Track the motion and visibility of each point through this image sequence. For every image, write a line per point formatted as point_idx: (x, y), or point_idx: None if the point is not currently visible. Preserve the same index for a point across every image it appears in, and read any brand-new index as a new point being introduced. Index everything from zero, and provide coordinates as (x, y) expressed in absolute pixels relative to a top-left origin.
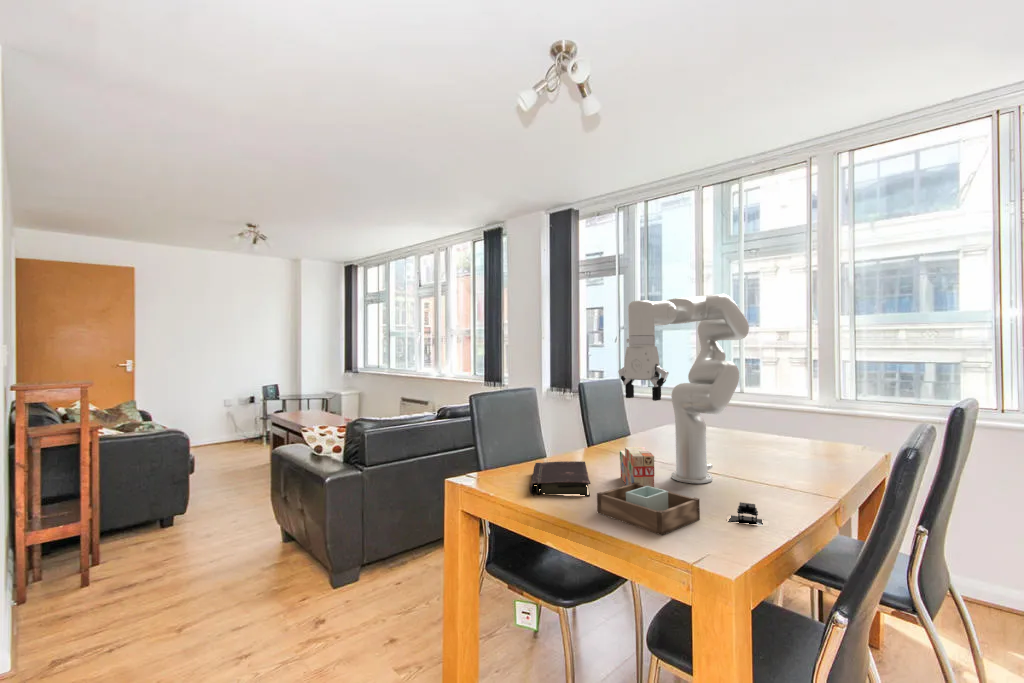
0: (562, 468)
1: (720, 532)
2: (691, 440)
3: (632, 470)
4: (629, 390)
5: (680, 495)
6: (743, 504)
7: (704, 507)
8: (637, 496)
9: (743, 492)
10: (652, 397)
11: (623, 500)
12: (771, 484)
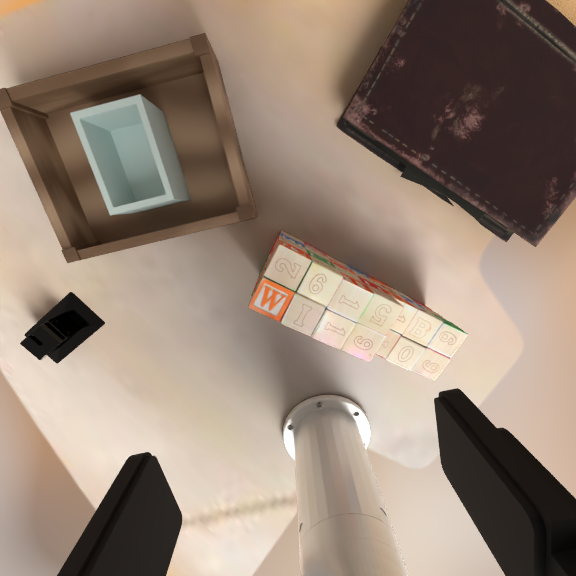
0: (526, 134)
1: (23, 236)
2: (311, 504)
3: (289, 242)
4: (481, 481)
5: (111, 246)
6: (44, 339)
7: (157, 316)
8: (101, 105)
9: (204, 445)
10: (140, 473)
11: (122, 70)
12: (222, 518)
